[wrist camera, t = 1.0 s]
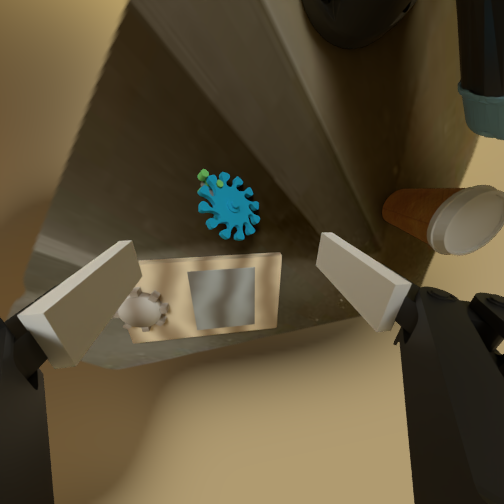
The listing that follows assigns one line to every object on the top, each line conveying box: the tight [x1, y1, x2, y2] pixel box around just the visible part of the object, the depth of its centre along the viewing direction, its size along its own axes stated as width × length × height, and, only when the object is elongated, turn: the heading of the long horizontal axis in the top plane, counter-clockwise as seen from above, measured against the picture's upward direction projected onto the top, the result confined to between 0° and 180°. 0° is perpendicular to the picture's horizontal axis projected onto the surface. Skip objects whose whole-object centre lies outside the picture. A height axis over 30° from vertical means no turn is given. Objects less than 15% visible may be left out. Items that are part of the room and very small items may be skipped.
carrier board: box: [113, 252, 282, 343], centre depth 36 cm, size 31×18×3 cm, turn 90°
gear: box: [198, 169, 260, 241], centre depth 28 cm, size 11×6×10 cm
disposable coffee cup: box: [382, 185, 504, 255], centre depth 29 cm, size 10×10×12 cm
